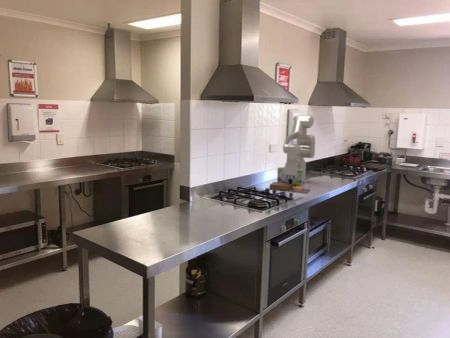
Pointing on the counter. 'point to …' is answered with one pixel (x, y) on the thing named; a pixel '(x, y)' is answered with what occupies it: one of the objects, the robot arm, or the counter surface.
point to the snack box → (296, 180)
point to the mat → (302, 191)
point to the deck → (281, 186)
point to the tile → (298, 188)
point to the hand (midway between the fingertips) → (290, 183)
